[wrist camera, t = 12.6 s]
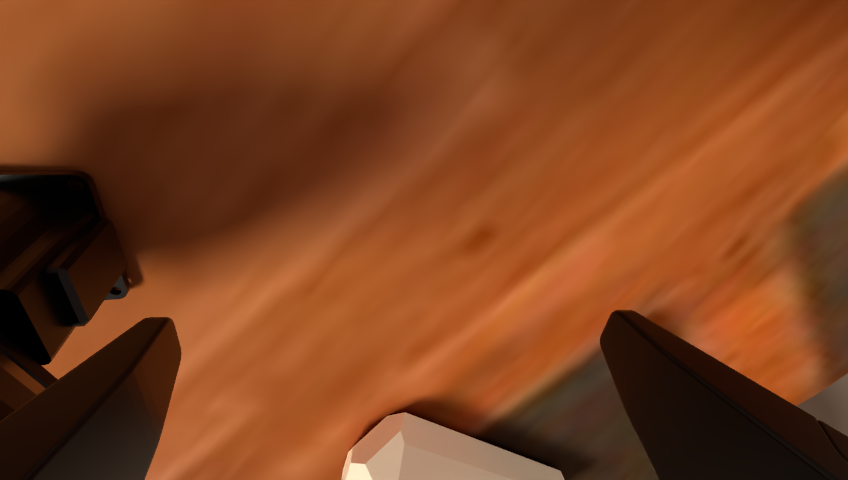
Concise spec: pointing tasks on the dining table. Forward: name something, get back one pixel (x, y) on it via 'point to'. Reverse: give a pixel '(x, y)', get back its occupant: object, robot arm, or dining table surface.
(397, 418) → the crystal
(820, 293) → the dining table surface
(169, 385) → the robot arm
